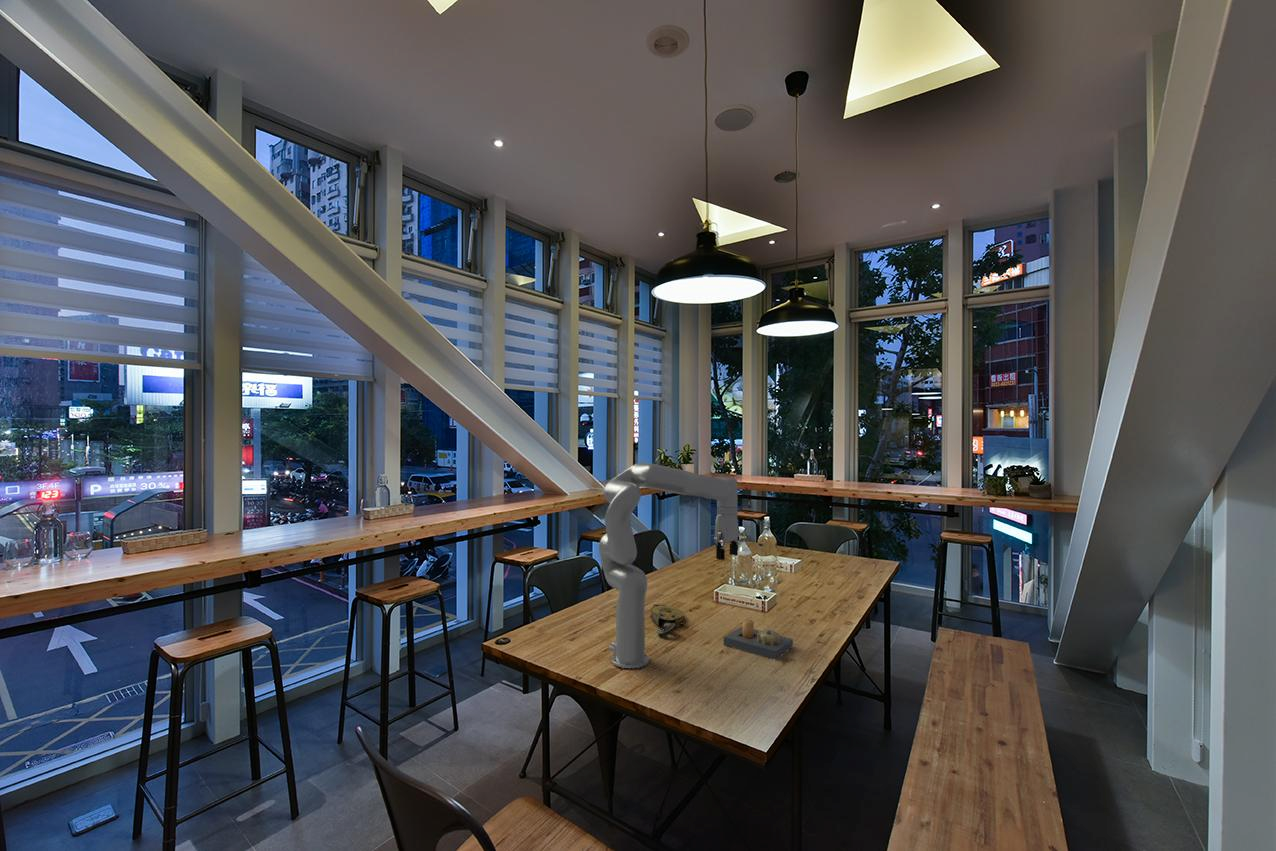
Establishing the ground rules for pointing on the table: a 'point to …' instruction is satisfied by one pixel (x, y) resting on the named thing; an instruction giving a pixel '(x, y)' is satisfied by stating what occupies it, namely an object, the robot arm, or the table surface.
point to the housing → (760, 643)
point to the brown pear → (748, 629)
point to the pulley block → (666, 618)
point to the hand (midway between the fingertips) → (727, 557)
